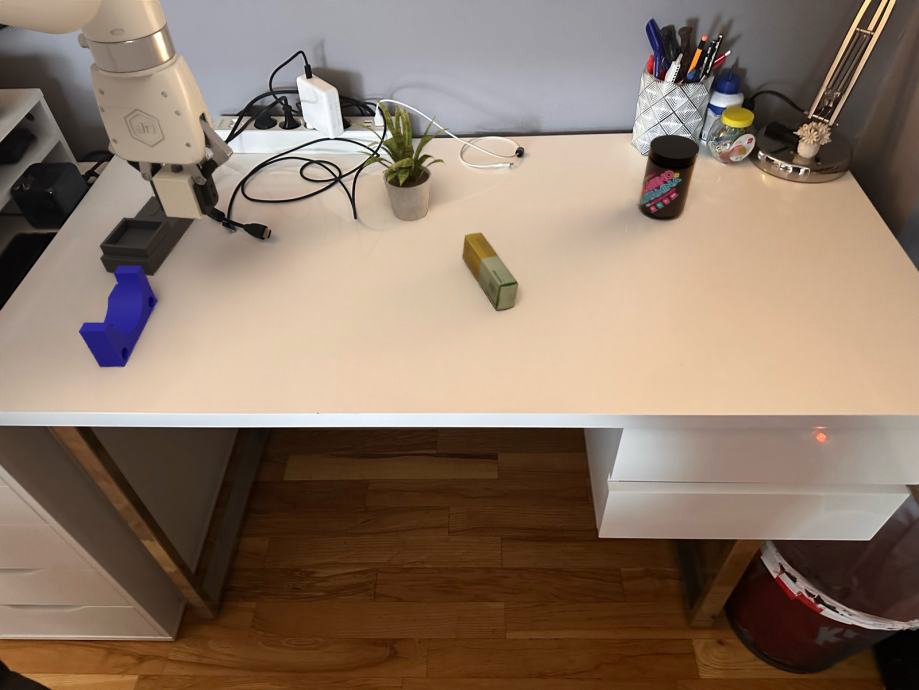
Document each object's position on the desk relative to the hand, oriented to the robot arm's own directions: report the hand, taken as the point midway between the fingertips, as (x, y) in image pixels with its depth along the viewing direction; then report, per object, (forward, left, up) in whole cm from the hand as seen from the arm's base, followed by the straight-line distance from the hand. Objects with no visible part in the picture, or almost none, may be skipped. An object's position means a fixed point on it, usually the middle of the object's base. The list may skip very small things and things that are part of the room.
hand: (190, 205), depth 78 cm
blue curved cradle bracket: (-11, -7, -15) cm, 20 cm away
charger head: (0, 0, 0) cm, 0 cm away
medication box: (+34, +8, -15) cm, 38 cm away
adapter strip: (-16, +12, -15) cm, 25 cm away
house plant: (+19, +24, -15) cm, 34 cm away
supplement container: (+58, +28, -15) cm, 66 cm away
